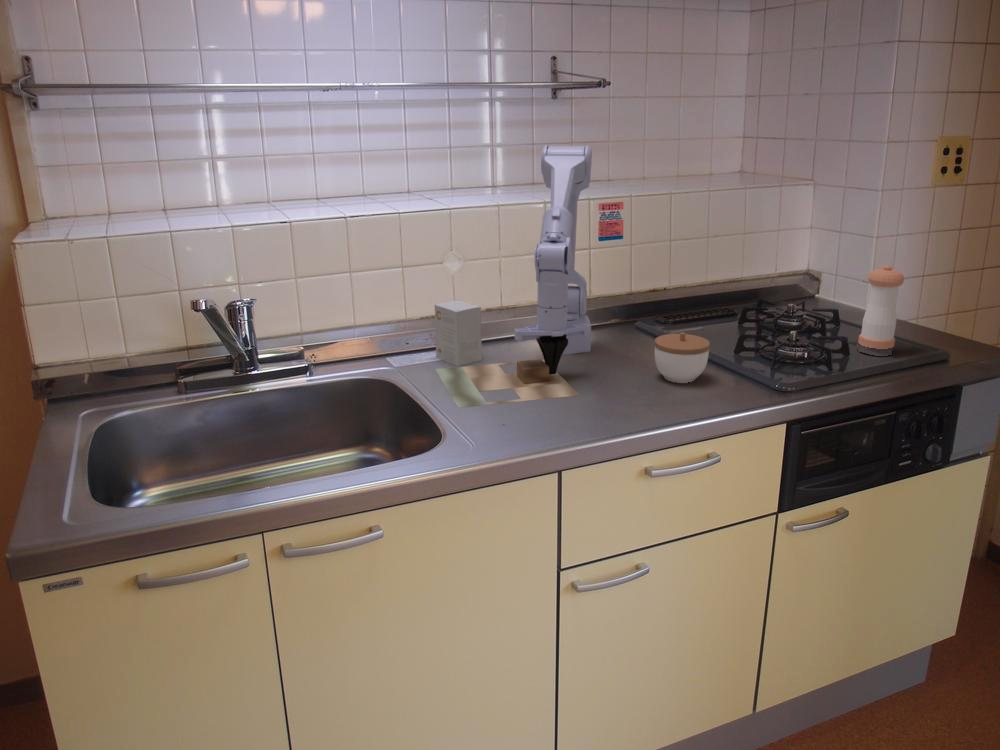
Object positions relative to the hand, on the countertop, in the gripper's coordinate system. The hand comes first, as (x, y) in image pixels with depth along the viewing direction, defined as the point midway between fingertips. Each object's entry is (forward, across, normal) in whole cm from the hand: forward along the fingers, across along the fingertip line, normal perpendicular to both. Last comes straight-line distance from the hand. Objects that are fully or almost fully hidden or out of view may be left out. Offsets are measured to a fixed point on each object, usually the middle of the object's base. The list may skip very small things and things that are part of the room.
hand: (551, 372), depth 160 cm
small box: (+3, -15, +17) cm, 22 cm away
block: (+1, -4, 0) cm, 4 cm away
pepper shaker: (+3, +75, 0) cm, 75 cm away
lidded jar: (+3, +26, -4) cm, 26 cm away
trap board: (+2, -10, 0) cm, 10 cm away
